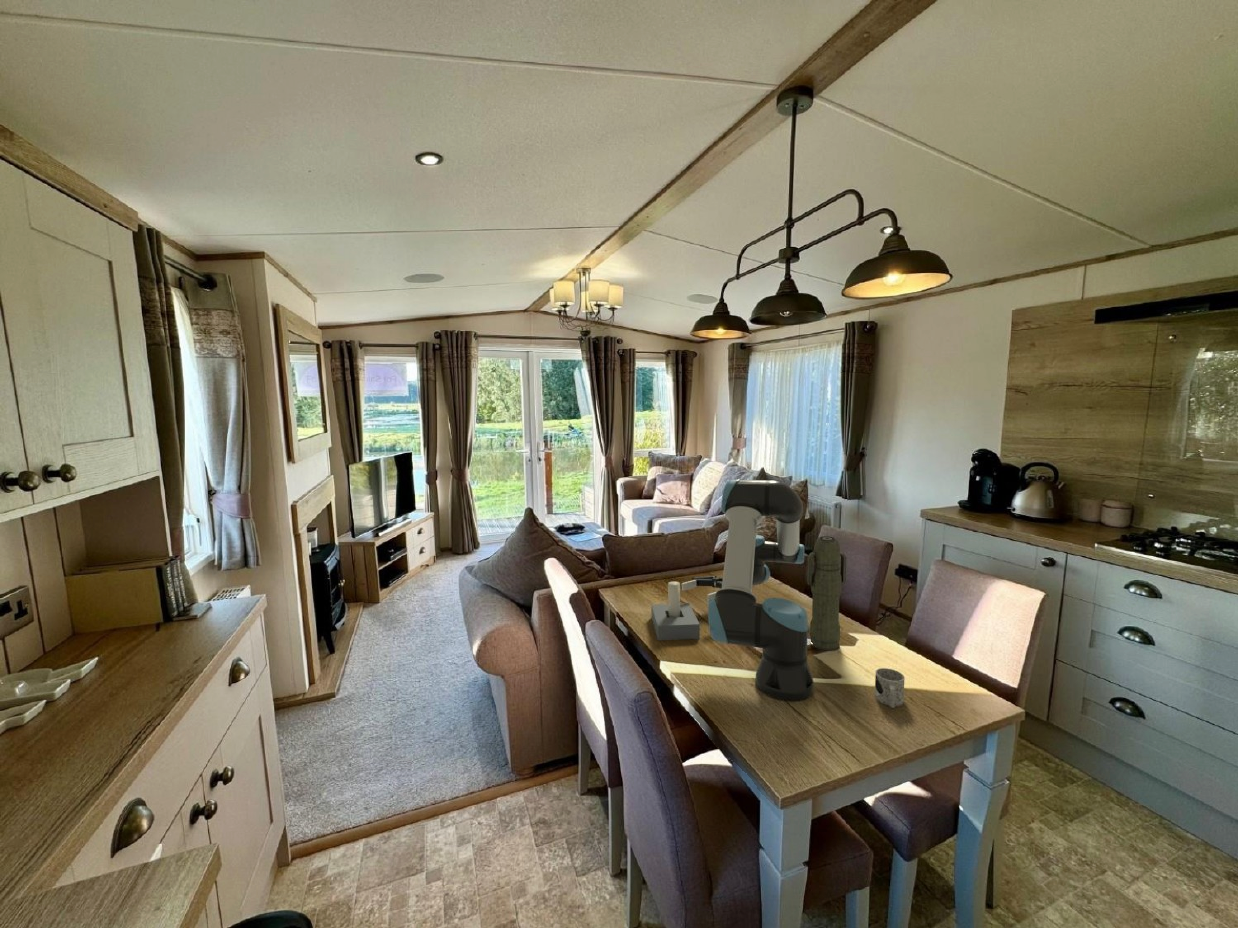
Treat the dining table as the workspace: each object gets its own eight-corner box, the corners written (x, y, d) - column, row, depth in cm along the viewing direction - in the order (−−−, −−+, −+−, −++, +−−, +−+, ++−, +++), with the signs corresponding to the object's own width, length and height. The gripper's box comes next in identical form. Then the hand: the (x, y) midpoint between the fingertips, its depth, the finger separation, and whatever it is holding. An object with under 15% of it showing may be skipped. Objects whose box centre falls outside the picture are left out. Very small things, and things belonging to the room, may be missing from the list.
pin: (681, 626, 173) (680, 585, 171) (669, 627, 173) (669, 585, 171) (679, 621, 177) (678, 581, 175) (667, 622, 177) (667, 581, 175)
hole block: (699, 638, 167) (699, 624, 166) (658, 640, 166) (657, 625, 165) (689, 615, 184) (689, 602, 184) (651, 617, 184) (651, 604, 183)
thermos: (850, 648, 157) (853, 540, 153) (815, 652, 155) (817, 543, 151) (833, 636, 166) (836, 533, 162) (800, 639, 164) (802, 535, 160)
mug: (873, 689, 135) (874, 666, 134) (901, 694, 132) (902, 670, 132) (877, 710, 126) (878, 685, 125) (907, 716, 123) (908, 690, 122)
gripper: (762, 599, 181) (719, 614, 169) (713, 580, 201) (672, 592, 190) (762, 579, 180) (719, 592, 168) (713, 562, 201) (672, 573, 189)
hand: (694, 592), depth 179 cm, fingers open, 13 cm apart
